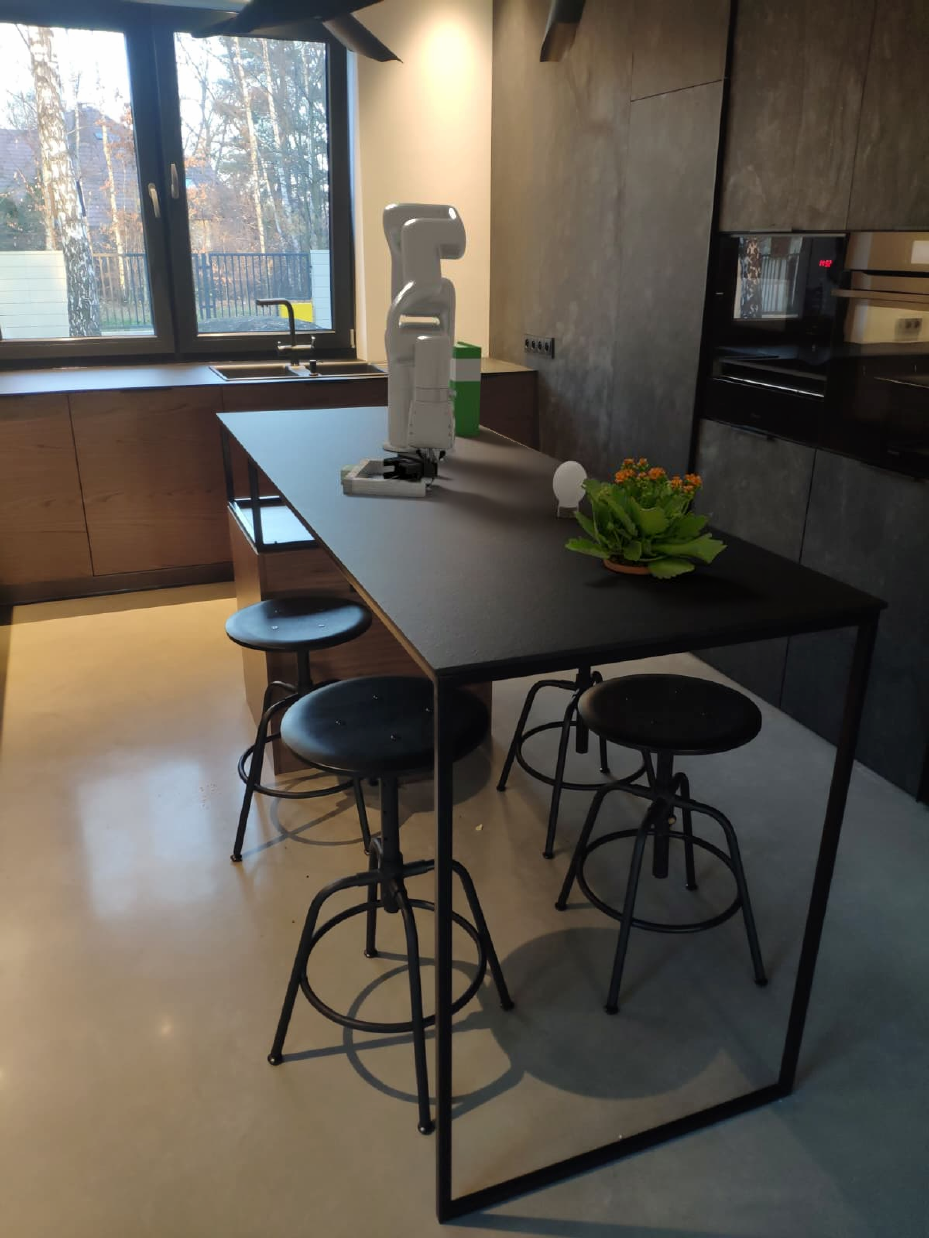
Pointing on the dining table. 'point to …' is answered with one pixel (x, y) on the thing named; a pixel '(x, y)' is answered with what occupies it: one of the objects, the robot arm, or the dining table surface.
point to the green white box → (466, 387)
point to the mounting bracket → (379, 480)
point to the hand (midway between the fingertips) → (430, 479)
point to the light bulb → (569, 488)
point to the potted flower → (644, 523)
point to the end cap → (408, 468)
